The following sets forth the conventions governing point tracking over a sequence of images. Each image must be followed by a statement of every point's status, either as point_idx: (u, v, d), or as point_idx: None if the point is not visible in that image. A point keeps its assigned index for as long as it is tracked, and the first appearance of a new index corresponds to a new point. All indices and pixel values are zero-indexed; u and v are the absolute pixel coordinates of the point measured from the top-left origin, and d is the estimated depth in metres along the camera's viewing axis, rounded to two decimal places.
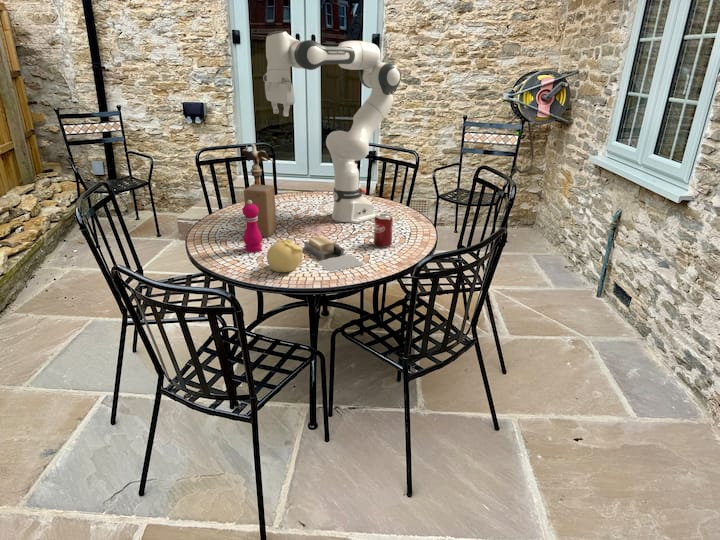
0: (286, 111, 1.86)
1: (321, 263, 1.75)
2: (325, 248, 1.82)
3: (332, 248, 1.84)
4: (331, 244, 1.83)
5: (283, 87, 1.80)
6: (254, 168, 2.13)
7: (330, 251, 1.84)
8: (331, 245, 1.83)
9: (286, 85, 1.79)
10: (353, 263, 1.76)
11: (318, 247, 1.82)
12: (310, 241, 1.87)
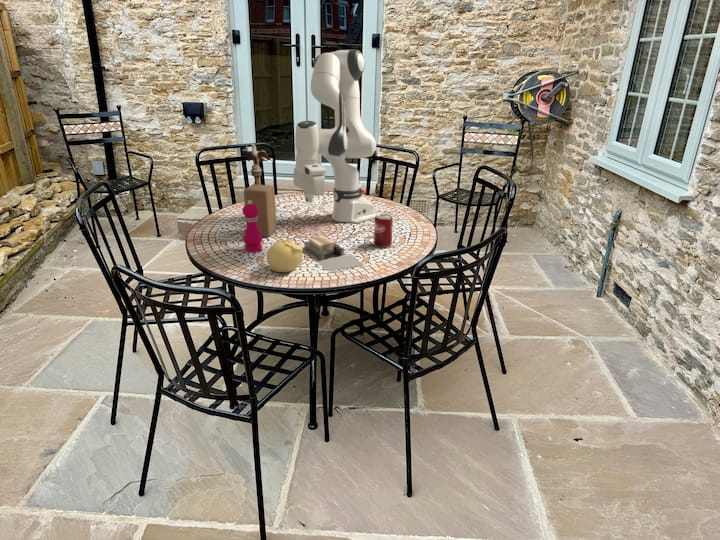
0: None
1: (321, 263, 1.75)
2: (325, 248, 1.82)
3: (332, 248, 1.84)
4: (331, 244, 1.83)
5: None
6: (254, 168, 2.13)
7: (330, 251, 1.84)
8: (331, 245, 1.83)
9: None
10: (353, 263, 1.76)
11: (318, 247, 1.82)
12: (310, 241, 1.87)
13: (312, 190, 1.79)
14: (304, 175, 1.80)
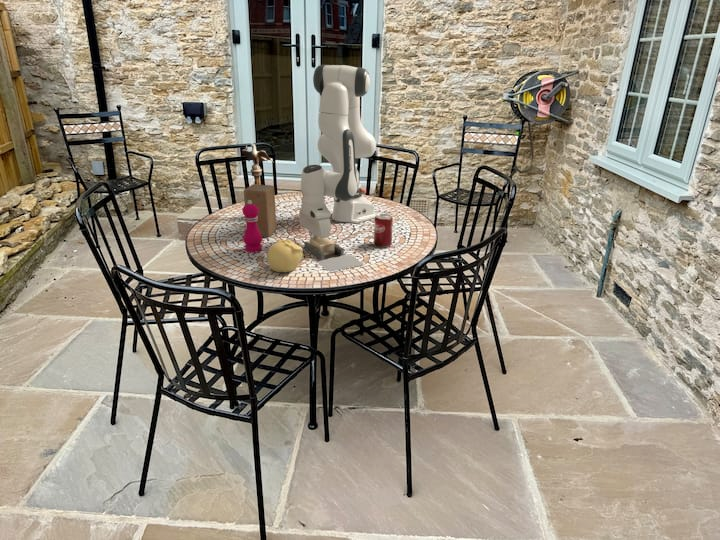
0: None
1: (321, 263, 1.75)
2: (326, 249, 1.82)
3: (333, 249, 1.84)
4: (332, 245, 1.83)
5: None
6: (254, 168, 2.13)
7: (331, 252, 1.84)
8: (332, 246, 1.83)
9: None
10: (353, 263, 1.76)
11: (319, 248, 1.81)
12: (311, 242, 1.86)
13: (317, 233, 1.82)
14: (310, 217, 1.83)
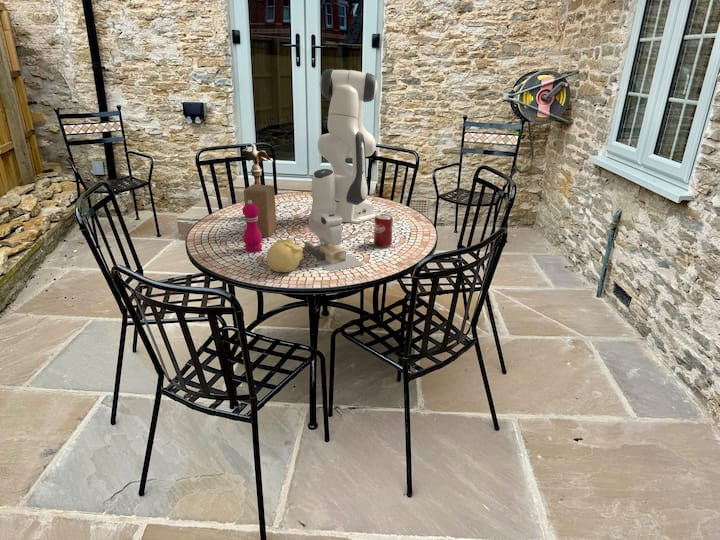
0: None
1: (321, 263, 1.75)
2: (337, 256, 1.75)
3: (344, 256, 1.77)
4: (343, 252, 1.76)
5: None
6: (254, 168, 2.13)
7: (342, 259, 1.77)
8: (343, 253, 1.76)
9: None
10: (353, 263, 1.76)
11: (330, 255, 1.75)
12: (321, 249, 1.80)
13: (328, 240, 1.75)
14: (320, 223, 1.77)
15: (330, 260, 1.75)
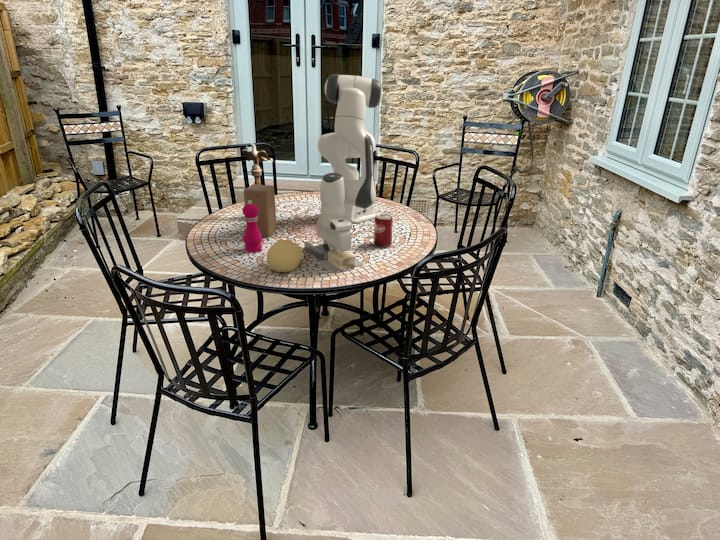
0: None
1: (321, 263, 1.75)
2: (345, 262, 1.70)
3: (353, 262, 1.72)
4: (352, 258, 1.71)
5: None
6: (254, 168, 2.13)
7: (351, 265, 1.72)
8: (352, 259, 1.71)
9: None
10: None
11: (338, 261, 1.70)
12: (329, 254, 1.75)
13: (337, 246, 1.70)
14: (329, 229, 1.72)
15: (339, 266, 1.70)
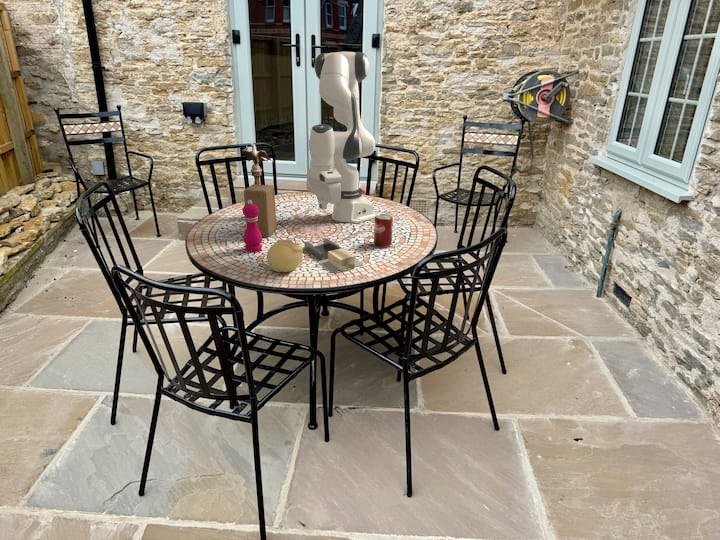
0: None
1: (321, 263, 1.75)
2: (345, 262, 1.70)
3: (353, 262, 1.72)
4: (352, 258, 1.71)
5: None
6: (254, 168, 2.13)
7: (351, 265, 1.72)
8: (352, 259, 1.71)
9: None
10: None
11: (338, 261, 1.70)
12: (329, 254, 1.75)
13: (327, 198, 1.70)
14: (318, 181, 1.71)
15: (339, 266, 1.70)
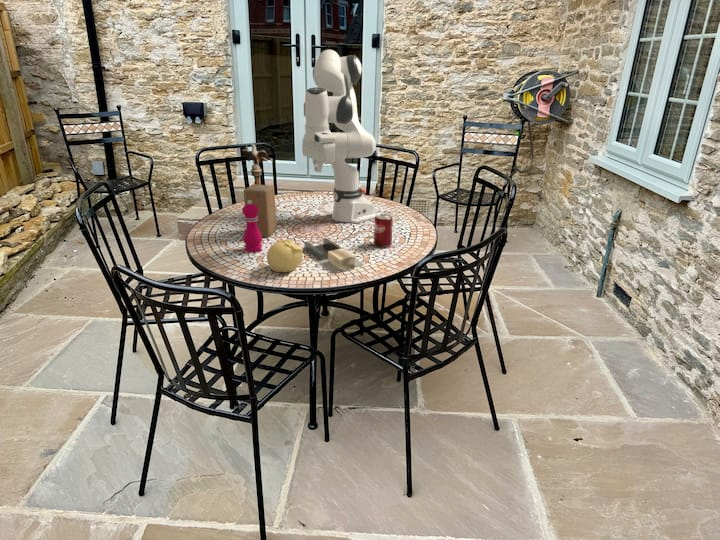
0: None
1: (321, 263, 1.75)
2: (345, 262, 1.70)
3: (353, 262, 1.72)
4: (352, 258, 1.71)
5: None
6: (254, 168, 2.13)
7: (351, 265, 1.72)
8: (352, 259, 1.71)
9: None
10: None
11: (338, 261, 1.70)
12: (329, 254, 1.75)
13: (321, 159, 1.76)
14: (314, 143, 1.77)
15: (339, 266, 1.70)
